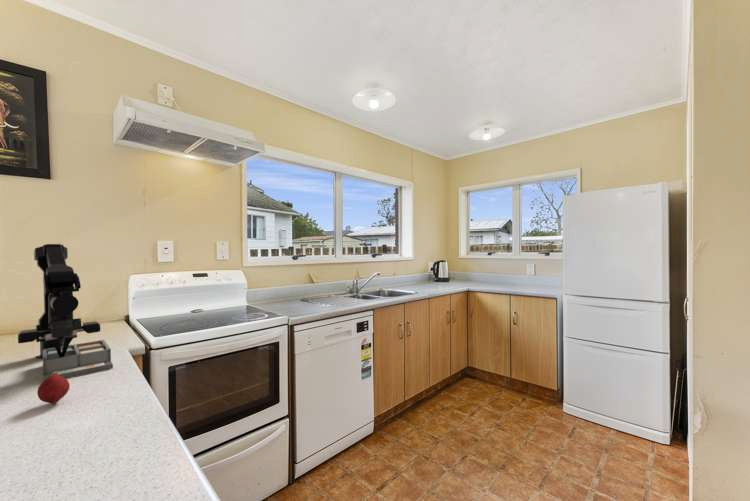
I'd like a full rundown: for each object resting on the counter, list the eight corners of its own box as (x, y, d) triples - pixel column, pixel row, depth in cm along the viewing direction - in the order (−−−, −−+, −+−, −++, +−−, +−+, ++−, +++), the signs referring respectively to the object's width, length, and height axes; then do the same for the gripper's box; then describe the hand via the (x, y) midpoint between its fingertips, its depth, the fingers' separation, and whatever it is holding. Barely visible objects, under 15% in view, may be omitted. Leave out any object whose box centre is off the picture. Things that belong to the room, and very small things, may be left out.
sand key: (80, 356, 111) (80, 351, 111) (103, 351, 115) (103, 347, 115) (81, 360, 107) (81, 355, 107) (105, 355, 111) (105, 351, 111)
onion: (49, 410, 81) (48, 377, 81) (31, 408, 82) (30, 376, 82) (75, 399, 86) (74, 369, 86) (58, 397, 88) (57, 367, 87)
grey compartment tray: (42, 365, 111) (42, 349, 111) (104, 354, 122) (104, 339, 122) (43, 383, 97) (43, 364, 97) (112, 368, 108) (112, 351, 108)
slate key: (47, 356, 111) (47, 351, 111) (72, 352, 115) (72, 347, 115) (48, 360, 107) (48, 356, 106) (73, 356, 111) (73, 351, 111)
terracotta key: (78, 351, 116) (78, 346, 116) (100, 347, 120) (100, 343, 120) (79, 355, 112) (79, 350, 112) (102, 350, 116) (102, 346, 116)
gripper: (16, 318, 93) (17, 373, 93) (102, 308, 106) (102, 357, 106) (18, 312, 101) (19, 363, 101) (97, 304, 114) (98, 349, 114)
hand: (61, 358), depth 105 cm, fingers closed
